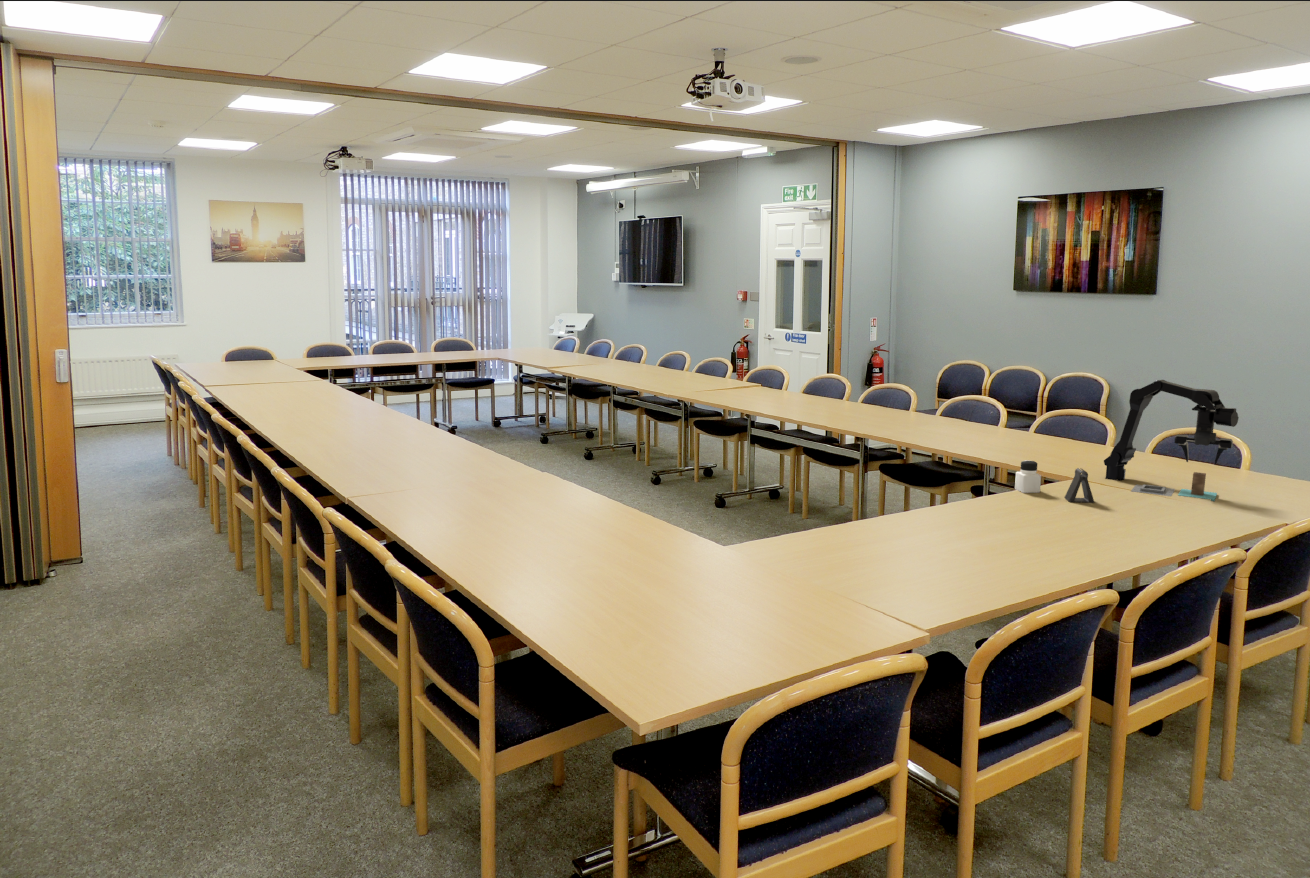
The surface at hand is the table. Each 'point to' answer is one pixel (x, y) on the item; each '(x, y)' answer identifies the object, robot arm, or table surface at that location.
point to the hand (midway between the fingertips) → (1201, 463)
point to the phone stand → (1075, 486)
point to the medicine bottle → (1028, 478)
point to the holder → (1153, 490)
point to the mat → (1205, 496)
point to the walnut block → (1198, 483)
